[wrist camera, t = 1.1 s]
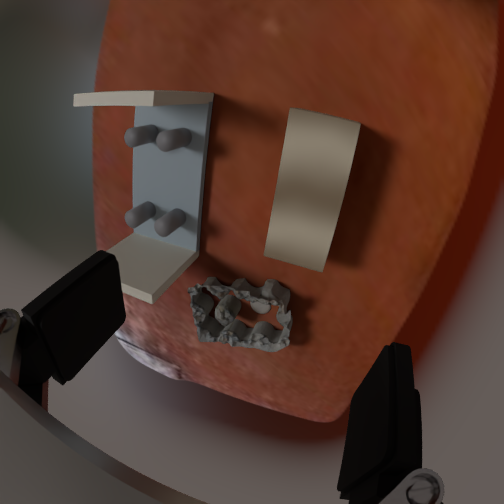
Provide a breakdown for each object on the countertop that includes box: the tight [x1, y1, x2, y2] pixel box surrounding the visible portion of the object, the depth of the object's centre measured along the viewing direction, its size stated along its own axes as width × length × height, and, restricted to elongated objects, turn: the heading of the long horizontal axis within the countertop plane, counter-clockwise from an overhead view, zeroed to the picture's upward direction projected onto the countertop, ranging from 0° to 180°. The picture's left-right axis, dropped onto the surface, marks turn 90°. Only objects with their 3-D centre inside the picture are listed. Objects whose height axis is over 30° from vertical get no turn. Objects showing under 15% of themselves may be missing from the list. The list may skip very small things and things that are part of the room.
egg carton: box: [188, 277, 293, 352], centre depth 31 cm, size 11×8×4 cm
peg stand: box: [73, 90, 214, 304], centre depth 25 cm, size 17×8×9 cm, turn 172°
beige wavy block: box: [264, 108, 361, 272], centre depth 23 cm, size 12×5×4 cm, turn 172°
